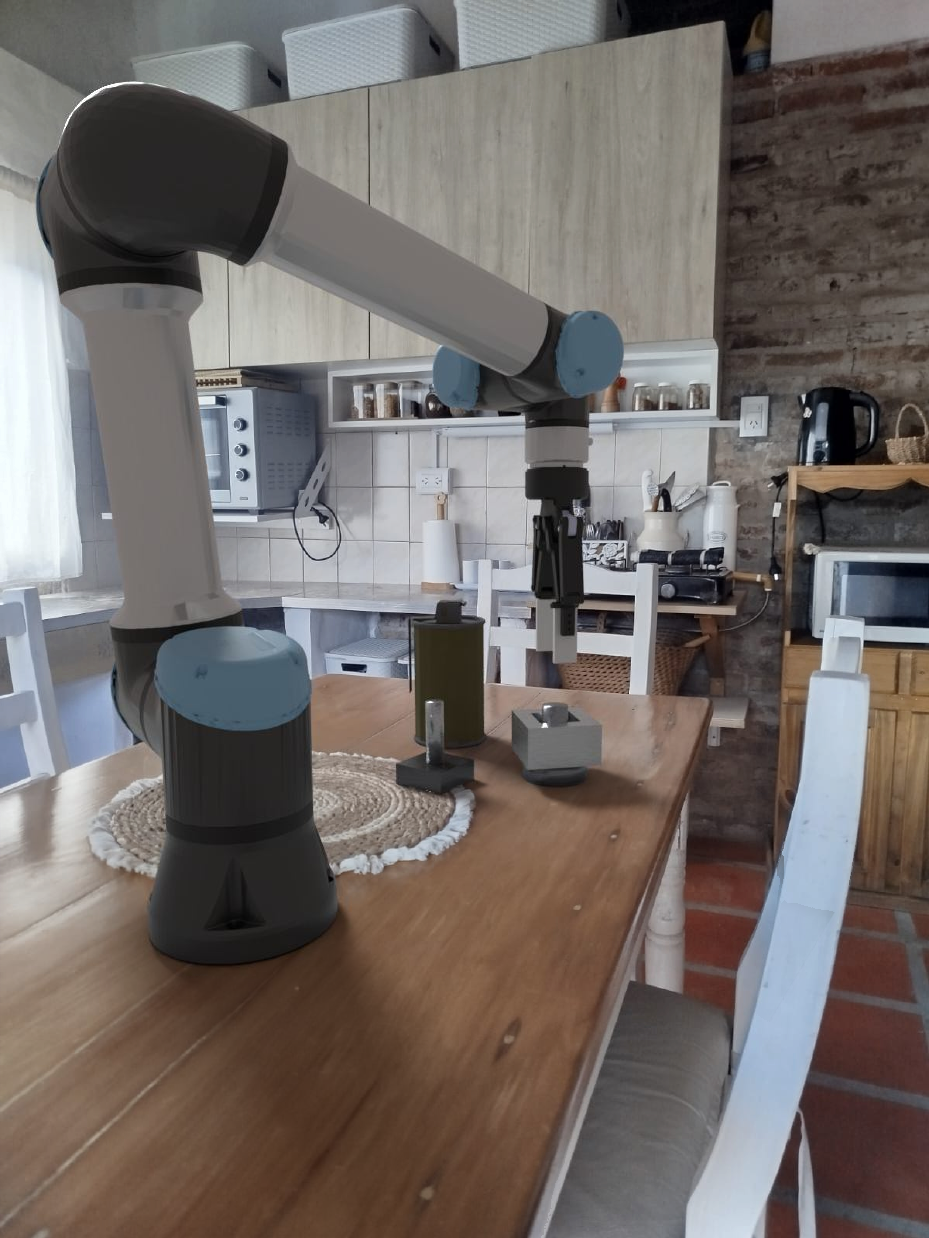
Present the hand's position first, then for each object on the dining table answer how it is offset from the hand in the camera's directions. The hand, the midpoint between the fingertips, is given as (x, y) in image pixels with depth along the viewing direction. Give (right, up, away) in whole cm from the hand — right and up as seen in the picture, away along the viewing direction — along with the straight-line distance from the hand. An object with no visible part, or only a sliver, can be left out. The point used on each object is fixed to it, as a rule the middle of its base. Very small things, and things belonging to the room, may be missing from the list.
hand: (555, 656), depth 103 cm
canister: (-13, -13, +19) cm, 27 cm away
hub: (0, -15, +2) cm, 15 cm away
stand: (-15, -15, 0) cm, 21 cm away
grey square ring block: (0, -13, +2) cm, 13 cm away
